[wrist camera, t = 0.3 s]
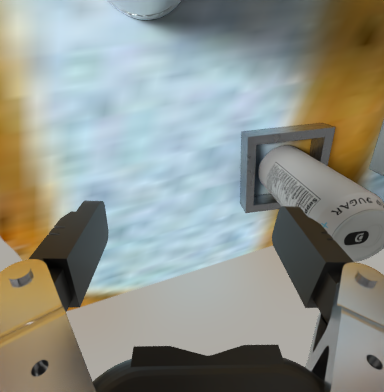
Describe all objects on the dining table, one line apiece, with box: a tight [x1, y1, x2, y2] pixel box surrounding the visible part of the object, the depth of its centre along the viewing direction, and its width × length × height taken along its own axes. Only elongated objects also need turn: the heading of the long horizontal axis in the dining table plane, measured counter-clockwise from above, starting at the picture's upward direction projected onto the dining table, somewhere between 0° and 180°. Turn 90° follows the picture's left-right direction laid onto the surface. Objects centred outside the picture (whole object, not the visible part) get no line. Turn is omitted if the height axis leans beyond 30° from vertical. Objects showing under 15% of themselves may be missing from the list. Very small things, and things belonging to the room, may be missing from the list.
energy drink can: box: [258, 145, 384, 262], centre depth 24 cm, size 6×6×15 cm
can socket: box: [240, 123, 335, 213], centre depth 29 cm, size 10×10×2 cm
